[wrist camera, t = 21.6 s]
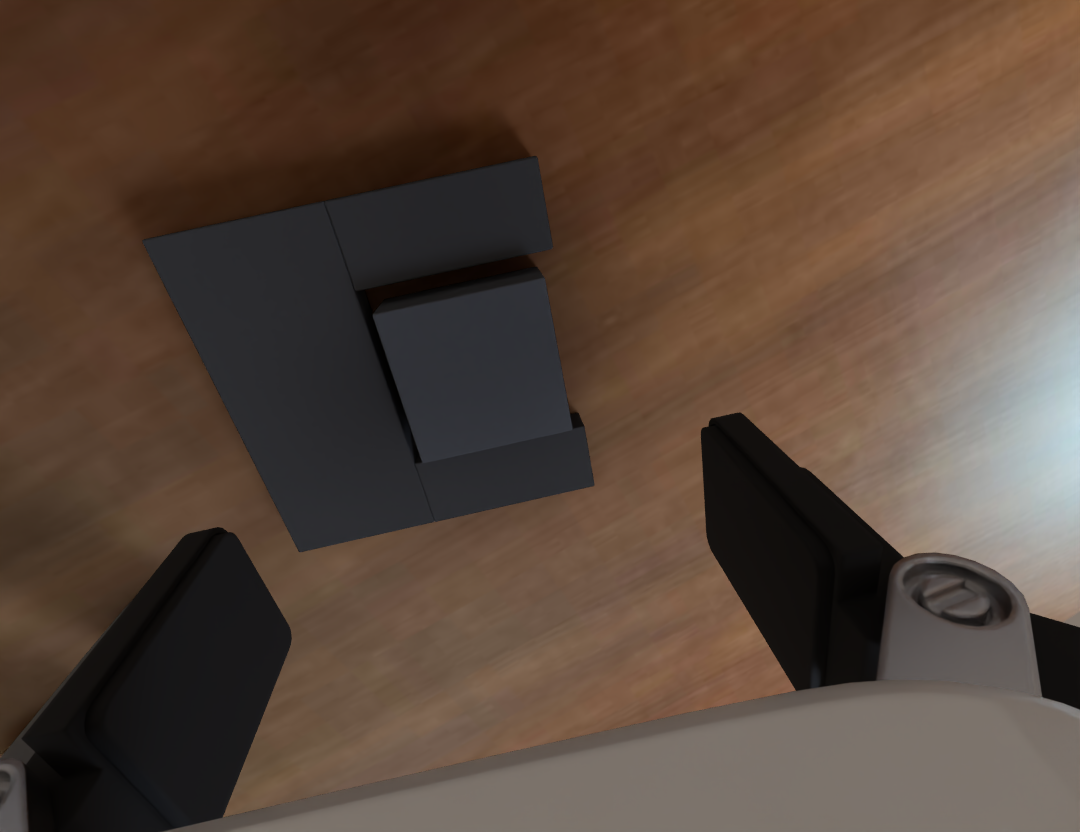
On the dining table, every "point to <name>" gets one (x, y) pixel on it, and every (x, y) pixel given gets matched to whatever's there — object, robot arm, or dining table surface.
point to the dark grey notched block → (356, 349)
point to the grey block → (476, 363)
